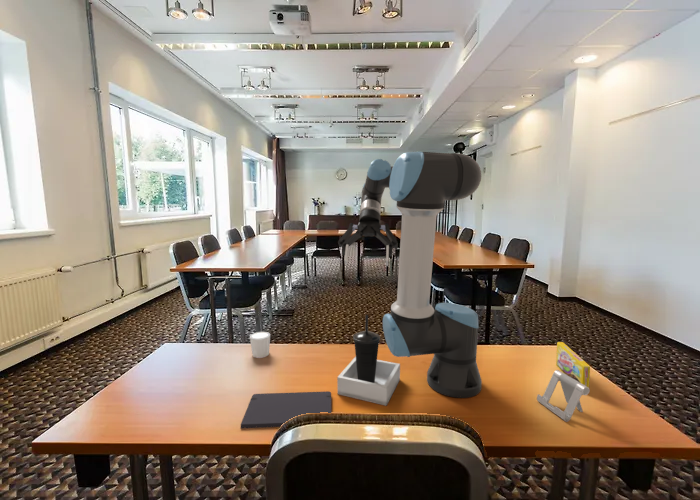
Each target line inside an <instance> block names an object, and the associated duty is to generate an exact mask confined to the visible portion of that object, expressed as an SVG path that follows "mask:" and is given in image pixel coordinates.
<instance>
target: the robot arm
mask: <svg viewBox="0 0 700 500" xmlns="http://www.w3.org/2000/svg"><path fill="white" fill-rule="evenodd" d="M481 181H482V171H481V167H480V166H479V163H478V162H477V161H476V160H475V159H474V158H472V157H471V156H469V155H467V154H464V153H459V152H436V151H435V152H434V151H432V152H431V151H407V152H403V153H402V154H400V155H399V156H398V157H397V159H395V162H394V163H393V166H392V165H391V164H390V162H389V161H387V160H386V159H385V160H383V159H382V158H377V159H373V160H372V161H371V162H370V165H369V167H368V170H367V172H366V178H365V182H364V183H363V186H362V189H361V200H360V201H361V202H360V208H359V209H360V210H359V220H358V224H354V223H353V222H350V223H349V225H348V228H347V229H346V231H345V232H344V233H343V234H342V236H341V237H340V238H339V240H338V241H337V243H338V247H339V248H342V250H341V252H342V256H344V257H343V258H344V260H343V261H344V262H343V263H344V265H345V266H347V265H348V262H349V260H348V259H349V254H350V246H352V244H354V243H355V242H357V240H359V239H361V238H362V237H366V238H368V237H371V238H372V237H375V238H377V239H378V240H379V241H380V242H382V244H384V246H385V248H386V249H385V250H386V251H385V252H386V253H385V254H386V255H385V266H387V267H389V261H390V260H389V259H390V257H392V256H393V249H398V244H399V261H398V279H397V292H396V293H397V295H396V296H397V297H396V300H395V301H394V302H393V303H392V304H391V305H390V313H385V314H384V315H383V317H382V331H383V335H384V339H385V342H386V345H387V348H388V350H389V352H390V353H391V355H393V356H394V357H396V358H400V357H402V358H403V357H407V358H410V357H414V356H423V355H424V356H425V355H433V357H432V359H431V363H430V365H429V368H428V370H427V372H426V383H427V384H428V385H429V387H430V388H431V389H433V390H434V391H435V392H437V393H439V394H441V395H444V396H446V397H452V398H457V399H458V398H460V399H462V398H463V399H466V398H471V397H472V398H473V397H475V396H477V395H479V394H480V393H481V391H482V384H483V383H482V377H481V375H480V374H481V373H480V370H479V368H478V364H477V363H478V362H477V353H478V352H477V351H478V336H479V335H478V333H479V328H480V326H479V315H478V313H477V312H476V311H475V310H474V309H472V308H470V307H467V306H464V305H462V304H457V303H451V302H450V303H449V302H439V303H436V304H435V307H433V306H432V304H431V303H430V298H431V297H430V296H431V286H432V273H433V262H434V251H435V239H436V238H435V237H436V227H437V216H438V214H439V213H441V212H442V211H443V210H444V208H445V207H444V206H445V201H459V200H463V199H466V198H468V197H469V196H472V195H473V194H474V193H475V192H476V191H477V189H478V188H479V186H480V184H481ZM387 188H389V197H391V200H393V201H395V202H396V209H398V211H399V212H400V213H401V227H400V243H398V240H397V238H396V237H395V235H394V234H393V231H392V230H391V229H390V225H389V223H388V222H387V223H386V222H385V223H384V224H381V211H382V210H381V209H382V205H381V204H382V198H383V194H384V191H385V189H387ZM355 230H356V231H355ZM381 230H383V232H385V235H386V236H385V235H384V234H383V233H382V232H381Z"/></svg>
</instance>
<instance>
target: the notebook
mask: <svg viewBox="0 0 700 500" xmlns="http://www.w3.org/2000/svg"><path fill="white" fill-rule="evenodd" d="M320 412H328V413H331V414H332V392H331V391H329V390H328V391H327V390H326V391H303V392H302V391H301V392H273V393H270V392H269V393H268V392H267V393H254V394H253V395H252V396H251V398H250V400H249V403H248V406H247V408H246V409H245V413H244V415H243V418H242V420H241V422H240V429H261V428H262V429H263V428H265V429H266V428H281V427H280V426H281V425H282V424H283V423H285V422H286V421H288V420H289V419H291V418H293V417H295V416H298V415H301V414H306V413H320Z"/></svg>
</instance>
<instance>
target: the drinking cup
mask: <svg viewBox="0 0 700 500" xmlns="http://www.w3.org/2000/svg"><path fill="white" fill-rule="evenodd" d="M364 326H365V330H363V331H360V332H359V331H358V332H356V333H355V334H353V336H352V338H353V339H352V340H353V341H354V353H355V357H356V365H357V376H358V380H362V381H367V382H372V383H374V382H375V373H376V364H377V360H378V353H379V344H380V343H379V342H380V340H381V336H380V334H378V333H376V332H373V331H370V330H369V314H365V325H364Z"/></svg>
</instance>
